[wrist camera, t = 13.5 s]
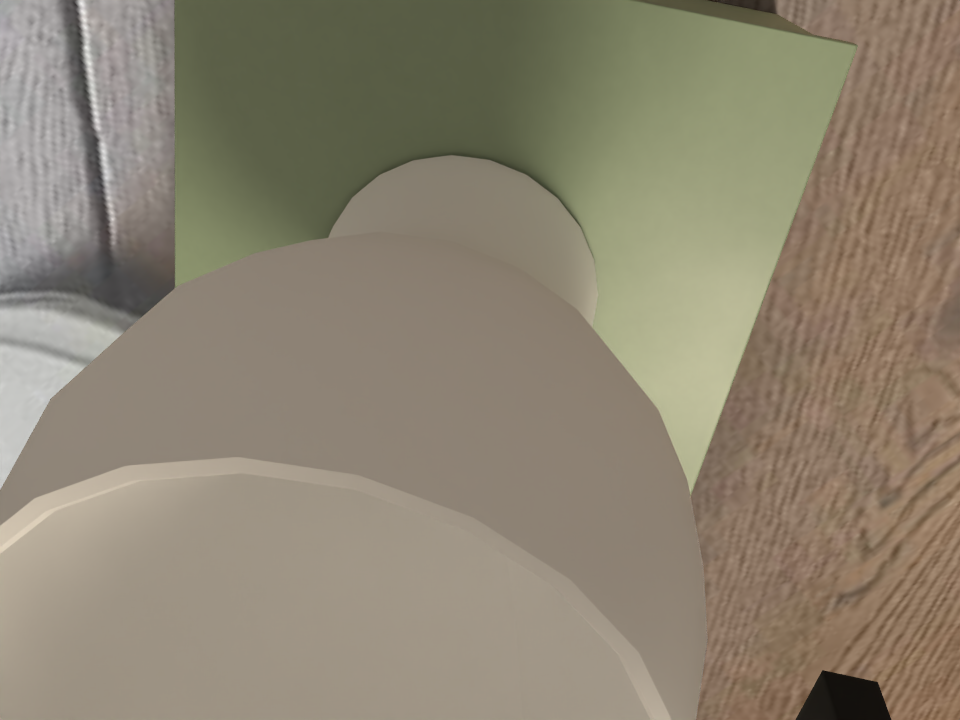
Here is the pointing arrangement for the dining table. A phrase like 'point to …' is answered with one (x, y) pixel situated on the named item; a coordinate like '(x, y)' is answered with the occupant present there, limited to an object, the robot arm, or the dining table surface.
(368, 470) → the cup
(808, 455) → the dining table surface
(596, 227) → the green flat-topped block
